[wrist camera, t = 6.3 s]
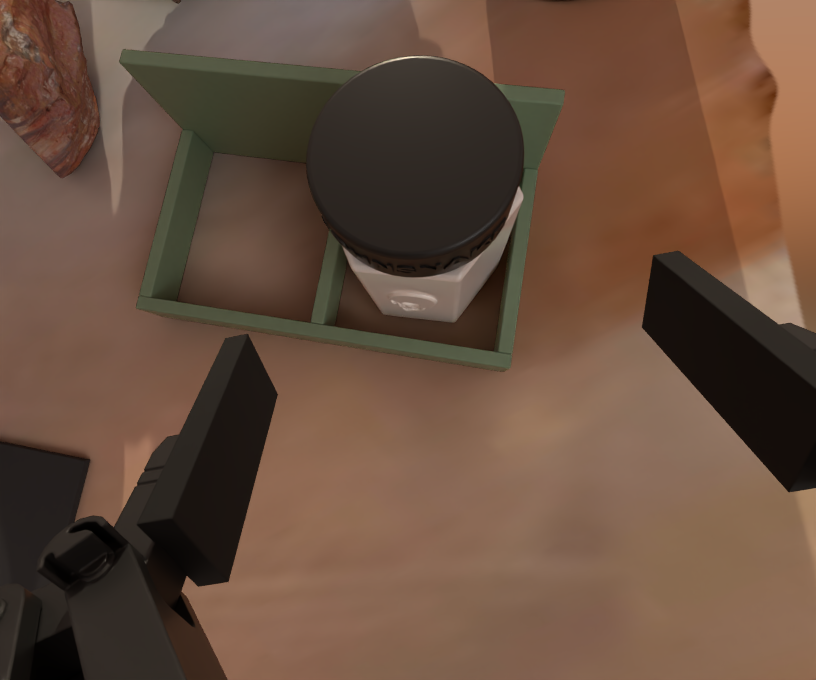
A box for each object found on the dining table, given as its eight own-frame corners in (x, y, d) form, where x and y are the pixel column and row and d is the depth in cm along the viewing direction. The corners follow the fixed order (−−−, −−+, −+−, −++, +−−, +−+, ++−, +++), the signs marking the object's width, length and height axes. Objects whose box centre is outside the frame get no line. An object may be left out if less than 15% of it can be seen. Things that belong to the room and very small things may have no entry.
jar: (347, 314, 28) (275, 247, 16) (366, 194, 29) (312, 46, 17) (490, 331, 27) (526, 272, 15) (503, 205, 28) (547, 58, 16)
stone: (-4, 85, 33) (-198, -53, 23) (85, 14, 33) (-69, -153, 23) (85, 202, 30) (-87, 105, 21) (179, 125, 31) (53, -8, 21)
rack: (161, 316, 29) (54, 282, 21) (205, 140, 30) (121, 48, 23) (504, 372, 26) (529, 357, 18) (531, 178, 28) (565, 89, 20)
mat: (-77, 577, 27) (-87, 581, 27) (-34, 434, 29) (-42, 434, 28) (51, 609, 27) (43, 613, 26) (90, 459, 28) (84, 460, 27)
